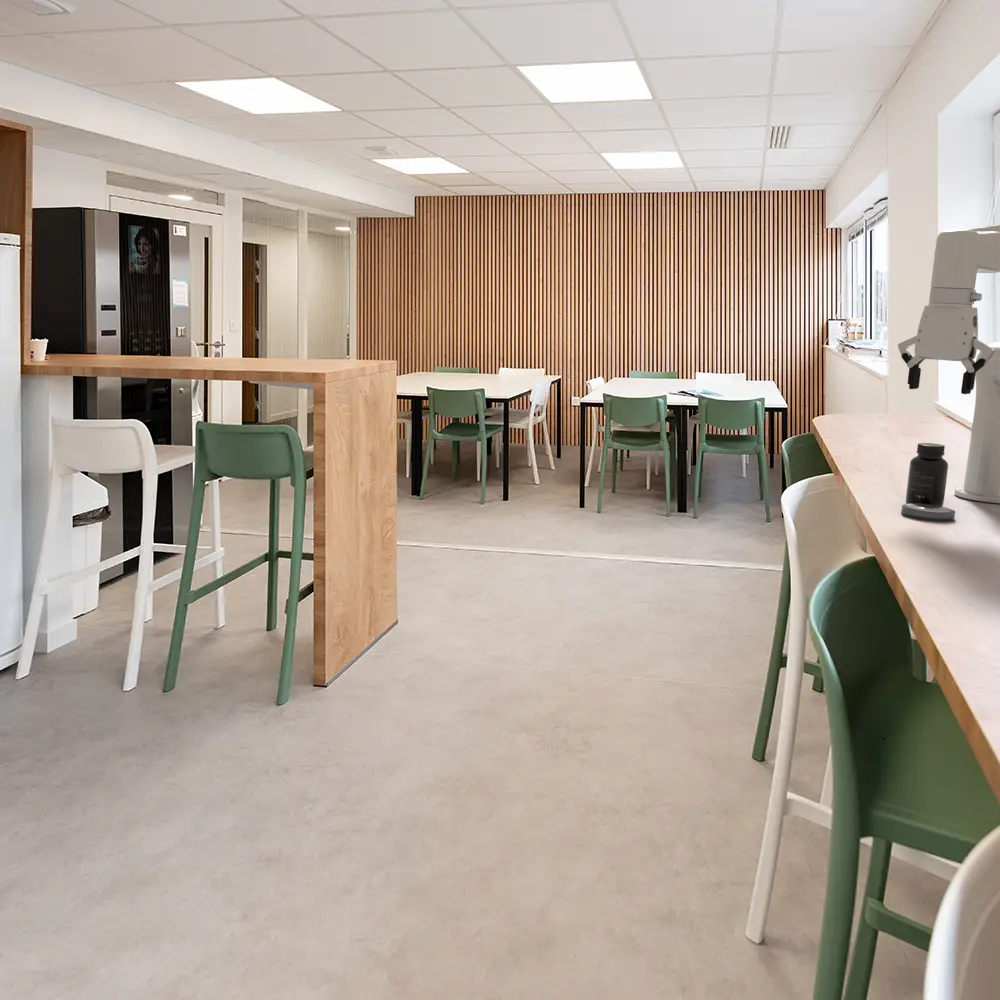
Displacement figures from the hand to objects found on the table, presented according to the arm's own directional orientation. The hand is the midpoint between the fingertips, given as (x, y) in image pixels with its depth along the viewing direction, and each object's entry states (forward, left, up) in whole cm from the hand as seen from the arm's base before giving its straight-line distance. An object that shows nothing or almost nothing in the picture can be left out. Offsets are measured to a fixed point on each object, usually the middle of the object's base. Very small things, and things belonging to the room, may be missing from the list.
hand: (939, 391), depth 192 cm
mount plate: (+10, +4, -22) cm, 25 cm away
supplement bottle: (0, 0, -22) cm, 22 cm away
